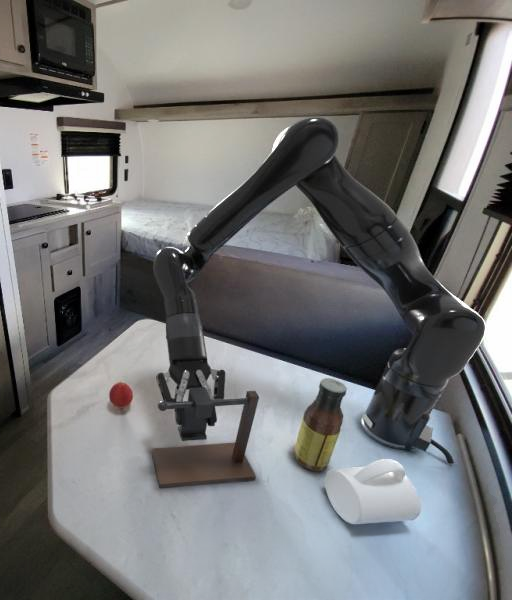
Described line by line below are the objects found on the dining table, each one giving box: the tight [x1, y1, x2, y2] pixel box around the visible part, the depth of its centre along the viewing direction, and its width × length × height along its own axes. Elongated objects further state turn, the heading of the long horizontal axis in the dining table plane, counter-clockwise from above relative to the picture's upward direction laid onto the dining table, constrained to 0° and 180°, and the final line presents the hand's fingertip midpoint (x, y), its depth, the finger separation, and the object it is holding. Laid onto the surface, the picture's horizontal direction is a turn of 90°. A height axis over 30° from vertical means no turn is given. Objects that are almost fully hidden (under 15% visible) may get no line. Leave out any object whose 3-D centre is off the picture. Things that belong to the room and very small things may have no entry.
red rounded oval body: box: [108, 380, 134, 409], centre depth 79 cm, size 6×6×8 cm
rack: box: [151, 390, 260, 489], centre depth 61 cm, size 8×19×19 cm, turn 94°
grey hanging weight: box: [177, 387, 213, 442], centre depth 60 cm, size 5×5×12 cm
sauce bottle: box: [293, 377, 348, 472], centre depth 62 cm, size 7×6×20 cm
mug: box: [324, 458, 422, 525], centre depth 55 cm, size 8×10×12 cm
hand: (197, 426), depth 61 cm, fingers closed on grey hanging weight, 5 cm apart
